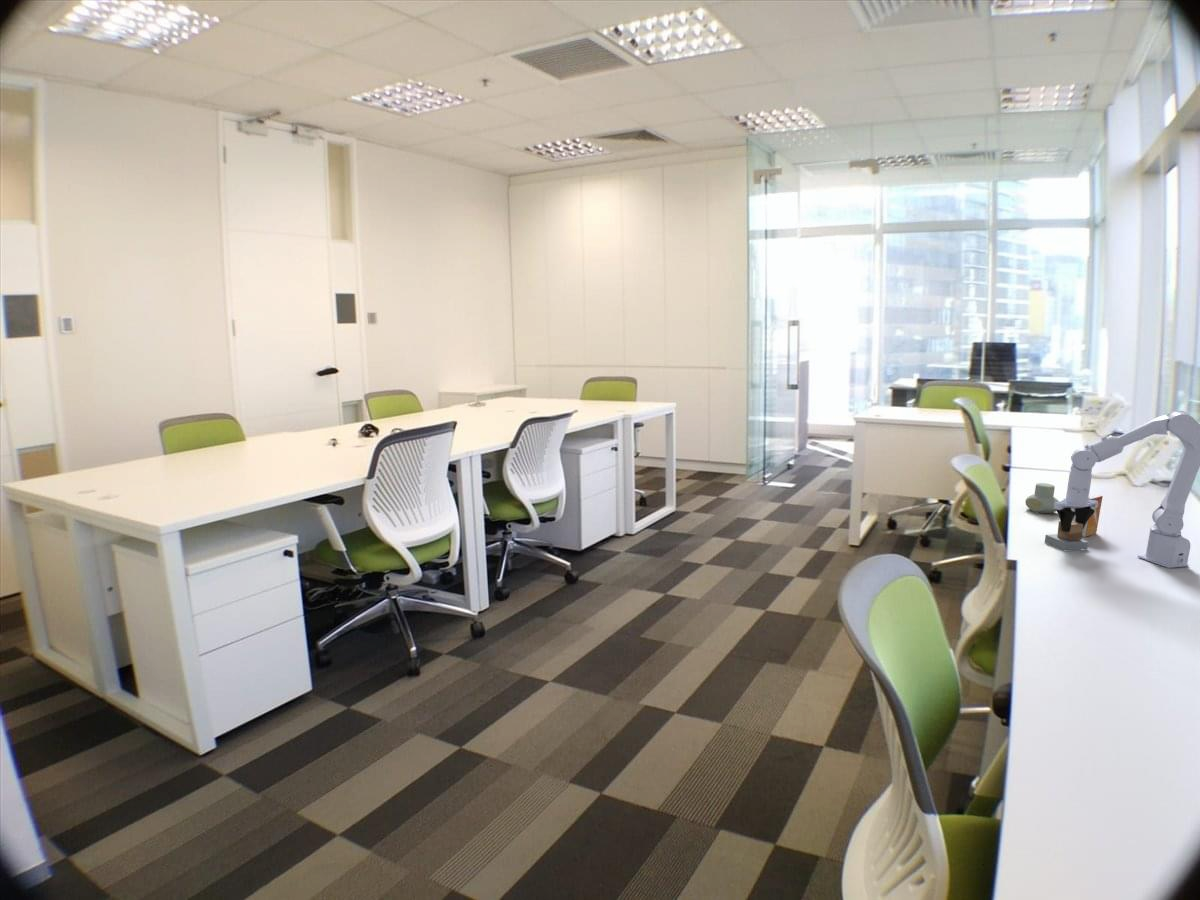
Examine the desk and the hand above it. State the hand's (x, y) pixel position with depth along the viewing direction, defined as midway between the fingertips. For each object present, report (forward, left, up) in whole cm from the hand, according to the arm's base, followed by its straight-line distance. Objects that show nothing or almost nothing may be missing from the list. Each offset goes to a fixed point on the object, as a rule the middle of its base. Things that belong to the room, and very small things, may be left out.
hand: (1072, 530), depth 225 cm
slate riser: (+1, 0, -6) cm, 6 cm away
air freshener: (+35, -24, -6) cm, 43 cm away
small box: (+11, -16, -6) cm, 20 cm away
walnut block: (0, 0, -3) cm, 3 cm away
